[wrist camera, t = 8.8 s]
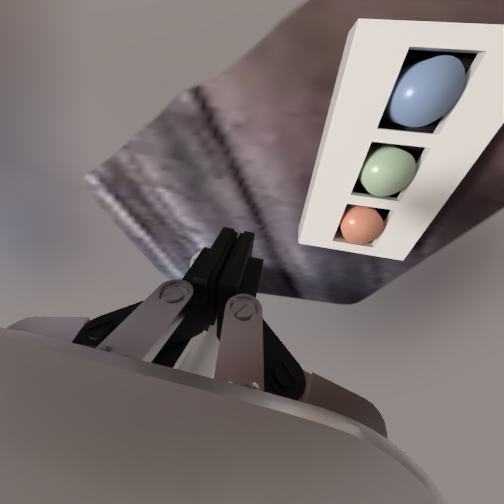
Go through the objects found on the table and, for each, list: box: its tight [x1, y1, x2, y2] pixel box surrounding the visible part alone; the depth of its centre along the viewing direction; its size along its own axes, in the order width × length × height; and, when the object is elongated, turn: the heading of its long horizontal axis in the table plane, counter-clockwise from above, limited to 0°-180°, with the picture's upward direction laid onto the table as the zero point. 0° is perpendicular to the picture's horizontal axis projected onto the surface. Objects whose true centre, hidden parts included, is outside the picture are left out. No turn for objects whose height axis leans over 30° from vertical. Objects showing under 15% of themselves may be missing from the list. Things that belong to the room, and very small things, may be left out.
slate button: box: [383, 55, 465, 127], centre depth 18 cm, size 5×5×4 cm
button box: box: [298, 19, 504, 261], centre depth 22 cm, size 21×14×4 cm, turn 176°
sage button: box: [358, 143, 416, 197], centre depth 22 cm, size 5×5×4 cm
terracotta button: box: [339, 204, 384, 244], centre depth 26 cm, size 5×5×4 cm
